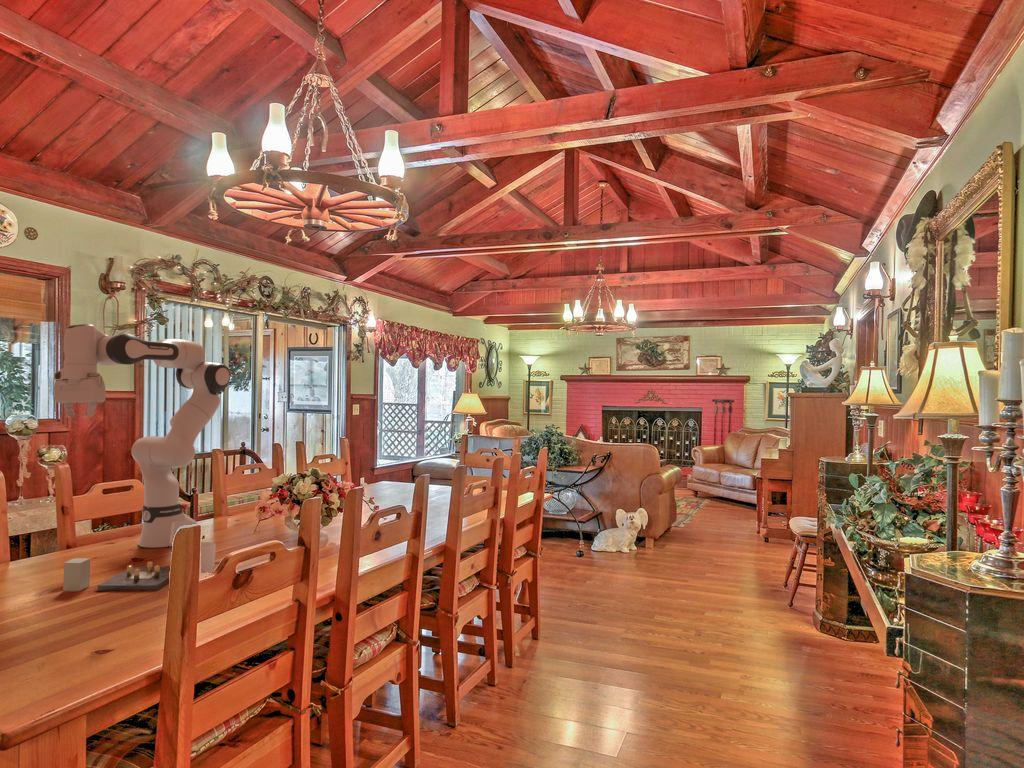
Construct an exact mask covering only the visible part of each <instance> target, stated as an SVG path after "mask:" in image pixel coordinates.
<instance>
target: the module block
mask: <svg viewBox="0 0 1024 768" xmlns="http://www.w3.org/2000/svg"><path fill="white" fill-rule="evenodd" d="M90 573H91V558H90V557H88V558H85V557H84V558H83V557H82V558H80V557H78V558H77V557H76V558H71V559H69V560H67V561H65V562H63V589H62V592H82V591H83V590H85V589H86V587H87V588H88V586H89V587H90V586H91V585H90V579H91V575H90ZM84 588H85V589H84Z"/></svg>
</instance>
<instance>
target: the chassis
mask: <svg viewBox="0 0 1024 768" xmlns="http://www.w3.org/2000/svg"><path fill="white" fill-rule="evenodd" d="M170 567H171V566H161V565H160V564H156V565H154V566H153V561H147V563H146V566H133V564H129V565H128V564H127V565H126V569H125V570H123V571H121V572H119V573H118V574H115V575H114V576H112V577H111V578H108V579H107V580H105V581H104V582H102V583H100V584H98V585H97V592H103V591H104V592H111V591H110V590H114V591H115V590H116V591H115V592H121V591H120V590H124V591H123V592H125V590H143V592H151V591H153V592H155V591H156V592H157V591H158V590H160V589H162V588H163V587H164V586H166V585H167V584H168V583H170V582H169V571H170ZM106 590H107V591H106ZM108 590H109V591H108ZM147 590H148V591H147ZM114 591H113V592H114Z"/></svg>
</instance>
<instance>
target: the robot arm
mask: <svg viewBox="0 0 1024 768" xmlns="http://www.w3.org/2000/svg"><path fill="white" fill-rule="evenodd" d="M63 353H64V361H63V367H62V368H60V370H58V371H57V372H55V373H54V374H53V380H54V381H55V382H54V384H53V385H54V388H53V389H54V392H53V393H54V401H55V402H56V403H57V404H63V408H64V410H65V412H66V415H65V416H66V418H75V417H76V412H75V411H74V409H73V407H74V404H77V403H78V404H79V403H80V404H82V403H85V404H87V410H86V411H85V417H86V418H93V417H94V416H95V411H96V409H97V406H98V403H104V402H105V401H106V398H107V396H106V395H107V392H106V385H105V381H104V379H103V376H102V375H101V374H100V373H99V372H98V365H99V366H115V365H129V366H130V365H134V364H136V363H139V362H142V361H143V360H144V361H145V360H146V361H147V360H150V361H153V362H154V364H155V365H156V366H158V367H160V368H166V369H176V370H175V378H176V382H177V384H179V386H180V387H183V388H185V389H189V390H192V393H191V396H190V397H189V398H188V399H187V400H186V401H185V402H184V403H183V404H182V406H181V407H179V409H178V410H177V411H176V412H175V413H174V415H173V416H172V417H171V418H170V422H169V424H170V427H171V428H170V430H169V432H168V433H167V434H166V435H164V436H156V435H151V436H143V437H140V438H138V439H136V441H135V442H134V443H133V444H132V446H131V450H130V451H131V453H130V454H131V457H132V458H133V460H134V462H136V463H137V466H138V467H139V469H140V473H141V475H142V479H143V484H144V485H143V486H144V489H143V490H144V492H143V493H144V494H143V498H144V501H143V502H144V505H143V506H142V528H141V532H140V537H139V540H138V543H137V546H138V545H139V547H140V548H142V547H143V548H154V549H155V548H167V547H168V546H169V547H173V546H172V542H173V538H174V535H175V533H176V531H177V529H178V528H179V527H180V526H183V525H192V524H197V525H198V522H197V521H196V520H195V519H194V518H191V517H190V516H189V515H187V514H185V513H184V511H183V509H184V510H188V509H189V504H188V503H180V502H179V500H180V496H179V495H180V482H179V481H178V479H177V478H176V477H175V475H174V474H173V471H172V469H177V468H178V469H179V468H182V467H183V468H184V467H187V466H189V465H190V464H192V462H193V461H194V459H195V455H196V449H195V445H194V444H195V441H196V439H197V437H198V435H200V433H201V432H202V430H203V429H204V428H205V426H206V425H207V424H208V423H209V422H210V421H211V419H212V418H213V416H214V415H215V413H216V412H217V410H218V408H219V406H220V404H221V398H220V396H219V395H221V394H222V393H223V392H225V390H226V388H227V387H228V385H229V384H230V381H231V371H230V370H231V369H230V368H229V367H228V366H227V365H225V364H223V363H220V362H211V361H206V359H205V358H206V351H205V348H204V347H203V346H202V345H201V344H200V343H199V342H195V341H193V340H188V339H180V338H162V339H157V340H156V341H152V340H151V341H149V340H144V339H142V338H140V337H138V336H136V335H134V334H131V333H122V334H121V333H120V334H118V335H117V334H115V335H107V334H106V333H104V332H102V331H100V330H99V329H98V328H97V327H96V326H95V325H94V324H92V323H83V324H72V325H69V326H68V327H66V329H65V332H64V337H63ZM201 533H202V538H201V539H204V538H205V537H206V534H205V533H203V532H201ZM203 536H204V538H203Z"/></svg>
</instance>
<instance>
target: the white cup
mask: <svg viewBox="0 0 1024 768" xmlns="http://www.w3.org/2000/svg"><path fill="white" fill-rule="evenodd" d="M200 542H201V573H206V572H208V573H212V572H213V573H214V568H215V561H216V559H215V558H216V546H217V545H216V544H217V543H215V542H213V541H200ZM209 575H210V574H209ZM205 577H206V576H205Z"/></svg>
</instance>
